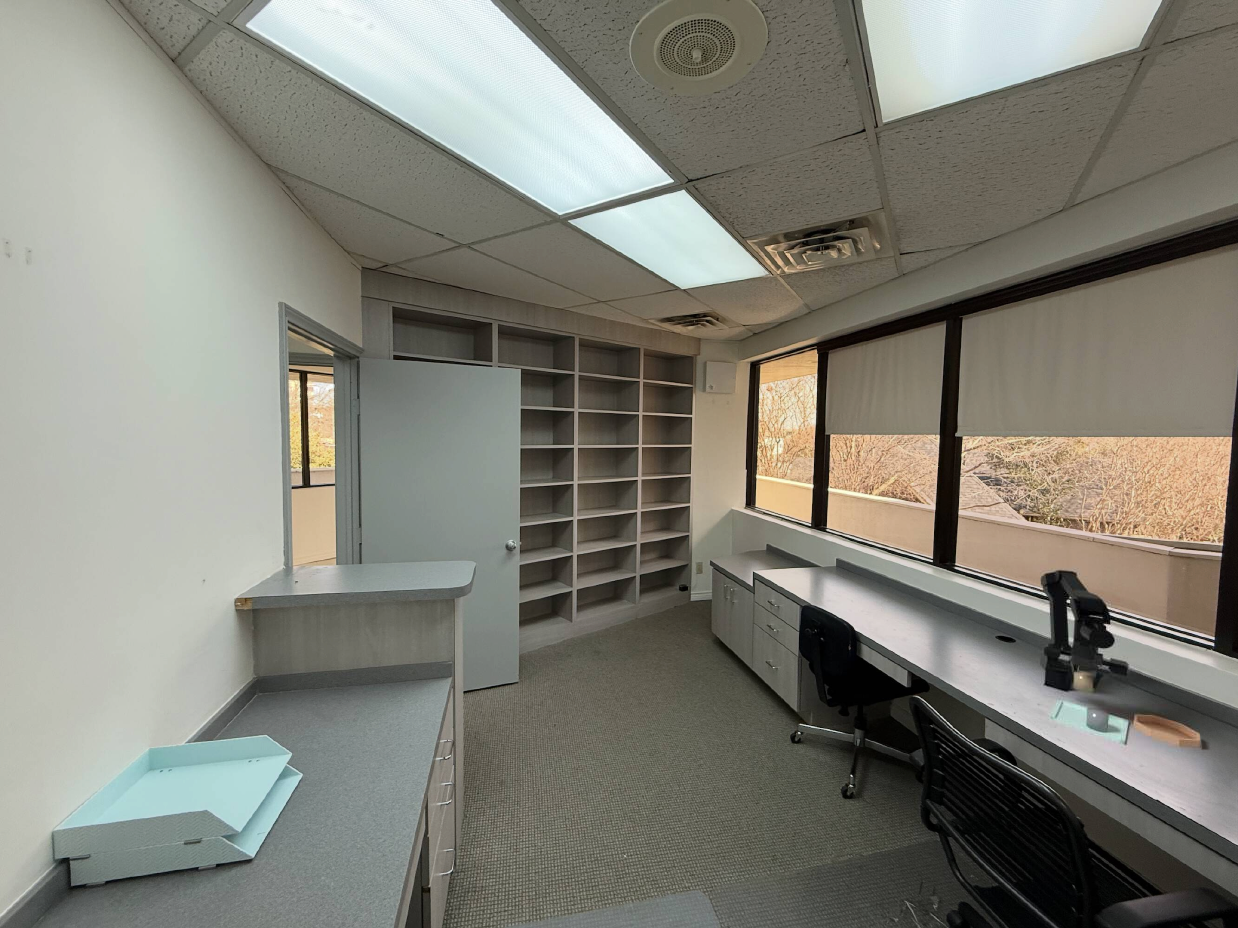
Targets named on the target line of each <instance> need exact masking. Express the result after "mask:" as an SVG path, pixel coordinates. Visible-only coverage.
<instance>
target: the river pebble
mask: <svg viewBox="0 0 1238 928" xmlns="http://www.w3.org/2000/svg"><path fill="white" fill-rule="evenodd" d="M1094 680H1095V675H1094V674H1092V673H1090V672H1088V671H1084V670H1075V671H1074V680H1073V683H1072V689H1075V690H1076V691H1078V692H1083V693H1085V694H1093V693H1094V690H1095V689H1093V684H1094Z"/></svg>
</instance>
